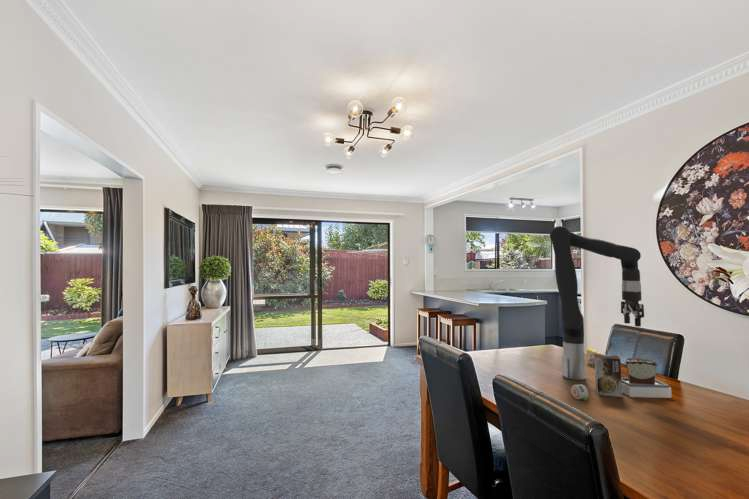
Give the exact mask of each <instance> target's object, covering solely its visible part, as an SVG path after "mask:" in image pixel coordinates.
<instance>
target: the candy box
mask: <svg viewBox="0 0 749 499" xmlns="http://www.w3.org/2000/svg"><path fill="white" fill-rule="evenodd" d="M594 354H603V355H607V354H605V353H602V352H600V351H599V352H598V351H597V350H593V349H590V348H587V349H586V357H587V358H586V359H587V360H586V361H587V362H586V363H587V364H588V365H590V366H593V367H595V356H594Z"/></svg>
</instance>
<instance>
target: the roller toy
mask: <svg viewBox="0 0 749 499" xmlns="http://www.w3.org/2000/svg"><path fill="white" fill-rule="evenodd" d="M570 391H571V395H572V396H573V398H574V399H575V400H583V401H587V400H588V397H589V390H588V388H587V386H585V385H584V384H579V383H578V384H574V385H572V386H571V388H570Z"/></svg>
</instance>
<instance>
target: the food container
mask: <svg viewBox="0 0 749 499" xmlns="http://www.w3.org/2000/svg"><path fill="white" fill-rule="evenodd" d="M624 365H625V366H626V372H627V378H628V379H629V383H630V384H655V379H657V377H656V375H657V374H656V373H657V367H659V364H658V362H657V361H656V360H653V359H649V358H642V357H627V358H625V360H624Z"/></svg>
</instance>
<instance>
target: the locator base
mask: <svg viewBox="0 0 749 499" xmlns="http://www.w3.org/2000/svg"><path fill="white" fill-rule="evenodd" d="M621 381H622V394H624V395H626V396H627V397H629V398H650V399H651V398H652V399H653V398H654V399H655V398H660V399H662V398H663V399H672V387H670V385H669V384H667V383H665V382H663V381H661V380H658V379H657V378H655V384H630V383H629V379H628V377H621Z"/></svg>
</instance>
